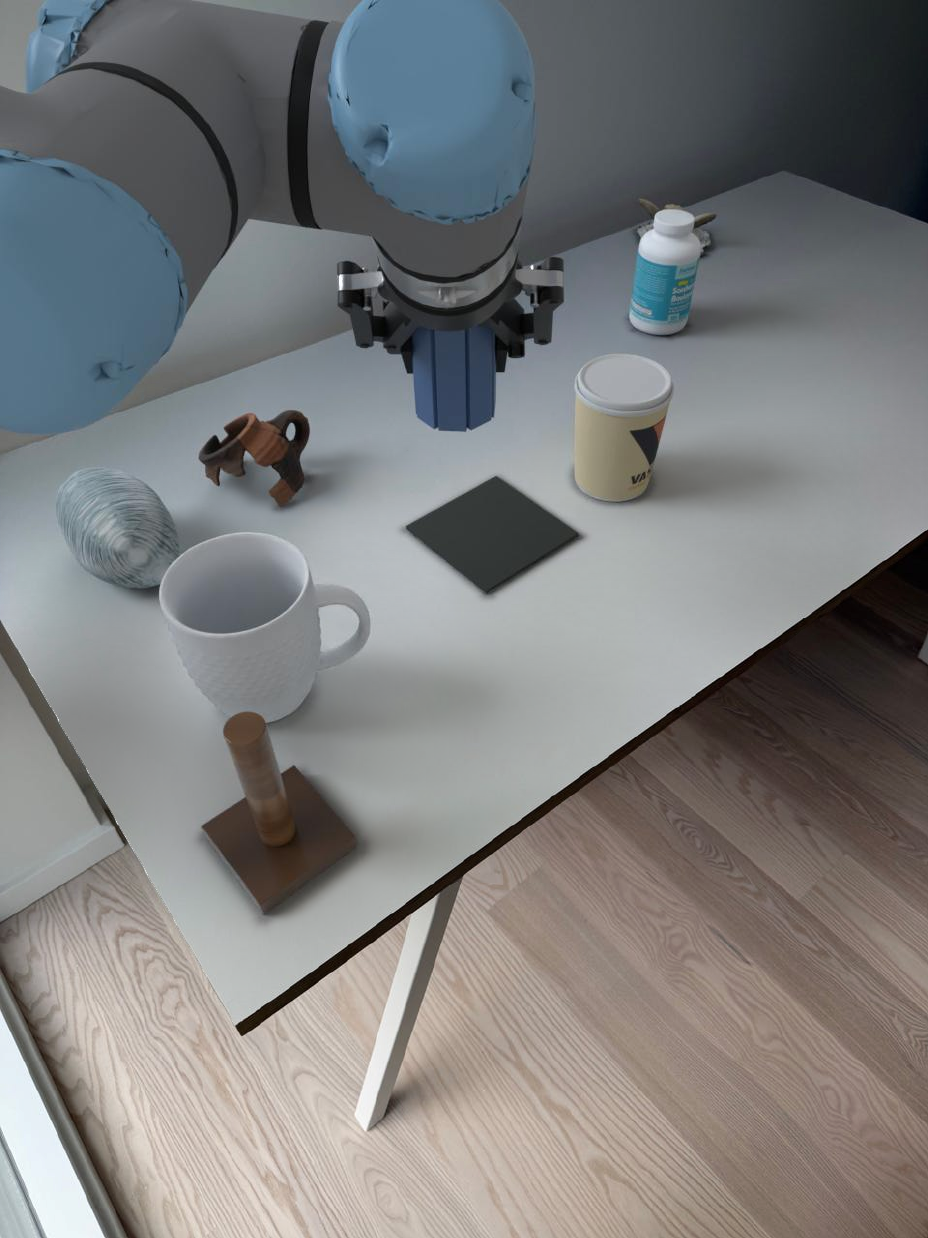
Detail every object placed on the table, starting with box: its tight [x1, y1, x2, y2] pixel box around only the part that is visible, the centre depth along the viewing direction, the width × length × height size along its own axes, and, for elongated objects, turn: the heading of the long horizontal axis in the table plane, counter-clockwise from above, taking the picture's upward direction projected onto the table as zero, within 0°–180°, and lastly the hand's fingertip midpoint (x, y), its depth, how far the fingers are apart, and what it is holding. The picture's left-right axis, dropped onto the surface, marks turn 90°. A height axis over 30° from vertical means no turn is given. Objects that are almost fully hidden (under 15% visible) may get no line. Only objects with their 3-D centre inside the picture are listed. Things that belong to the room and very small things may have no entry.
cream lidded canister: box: [574, 353, 675, 503], centre depth 89 cm, size 9×9×12 cm
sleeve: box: [411, 325, 497, 433], centre depth 65 cm, size 6×6×9 cm
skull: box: [636, 198, 718, 257], centre depth 128 cm, size 12×10×9 cm
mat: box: [405, 475, 579, 594], centre depth 87 cm, size 12×12×1 cm
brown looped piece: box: [198, 409, 311, 507], centre depth 92 cm, size 12×10×8 cm
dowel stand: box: [200, 711, 358, 916], centre depth 60 cm, size 8×8×14 cm
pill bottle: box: [628, 209, 701, 336], centre depth 110 cm, size 8×7×14 cm
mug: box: [158, 531, 372, 724], centre depth 70 cm, size 15×11×13 cm
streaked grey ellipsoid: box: [55, 466, 181, 589], centre depth 83 cm, size 14×10×10 cm
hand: (455, 355), depth 69 cm, fingers closed on sleeve, 6 cm apart
